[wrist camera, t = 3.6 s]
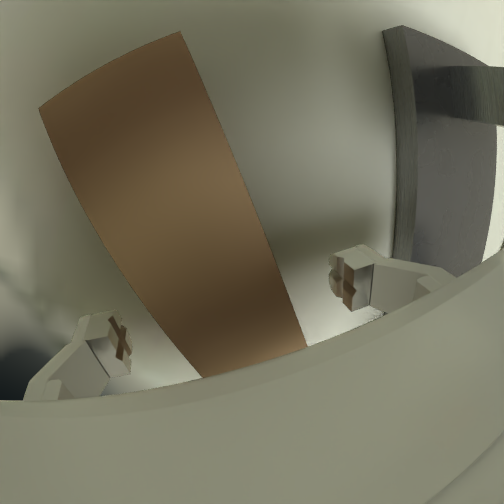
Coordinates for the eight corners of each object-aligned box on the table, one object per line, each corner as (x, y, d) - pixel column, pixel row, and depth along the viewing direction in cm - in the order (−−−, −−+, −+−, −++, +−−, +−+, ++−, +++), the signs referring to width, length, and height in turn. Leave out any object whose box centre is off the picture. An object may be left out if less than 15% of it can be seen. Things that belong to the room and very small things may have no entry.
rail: (82, 115, 8) (37, 108, 5) (176, 67, 8) (180, 31, 5) (238, 380, 16) (257, 433, 12) (297, 352, 16) (327, 400, 12)
